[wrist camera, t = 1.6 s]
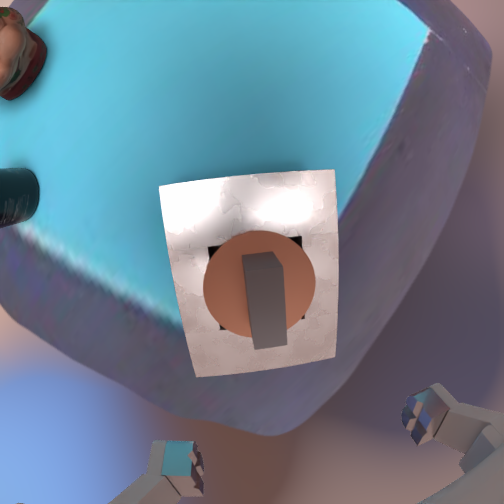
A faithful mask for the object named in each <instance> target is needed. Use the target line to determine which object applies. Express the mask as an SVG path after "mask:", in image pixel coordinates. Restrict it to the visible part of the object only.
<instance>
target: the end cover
mask: <svg viewBox="0 0 504 504" xmlns="http://www.w3.org/2000/svg"><path fill="white" fill-rule="evenodd" d="M315 285H316V280H315V272H314V268H313V266H312V263H311V261H310V259H309V257H308V256H307V254H306V253H305V252H304V250H303V249H302V248H301V247H300V246H299V245H297V244H296V243H295V242H294V241H292V240H291V239H290V238H288V237H286V236H284V235H281V234H279V233H275V232H271V231H251V232H246V233H243V234H239V235H237V236H235V237H233V238H231V239H230V240H228V241H227V242H225V243H224V244H223V245H222V246H220V247H219V248H218V250H217V251H216V252H215V253H214V254H213V256H212V257H211V259H210V261H209V263H208V265H207V268H206V271H205V275H204V280H203V295H204V300H205V303H206V306H207V308H208V310H209V312H210V314H211V315H212V316H213V318H214V319H215V320H216V321H217V322H218V323H219V324H220V325H221V326H222V327H224V328H225V329H227V330H228V331H230V332H232V333H235V334H237V335H240V336H244V337H250V338H252V340H253V345H254V350H258V349H265V348H272V347H279V346H285V345H287V329H289V328H291V327H292V326H293V325H295V324H296V323H297V322H298V321H299V320H300V319H301V318H302V317H303V316H304V314H305V313H306V312H307V310H308V308H309V307H310V305H311V302H312V300H313V297H314V293H315Z"/></svg>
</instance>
